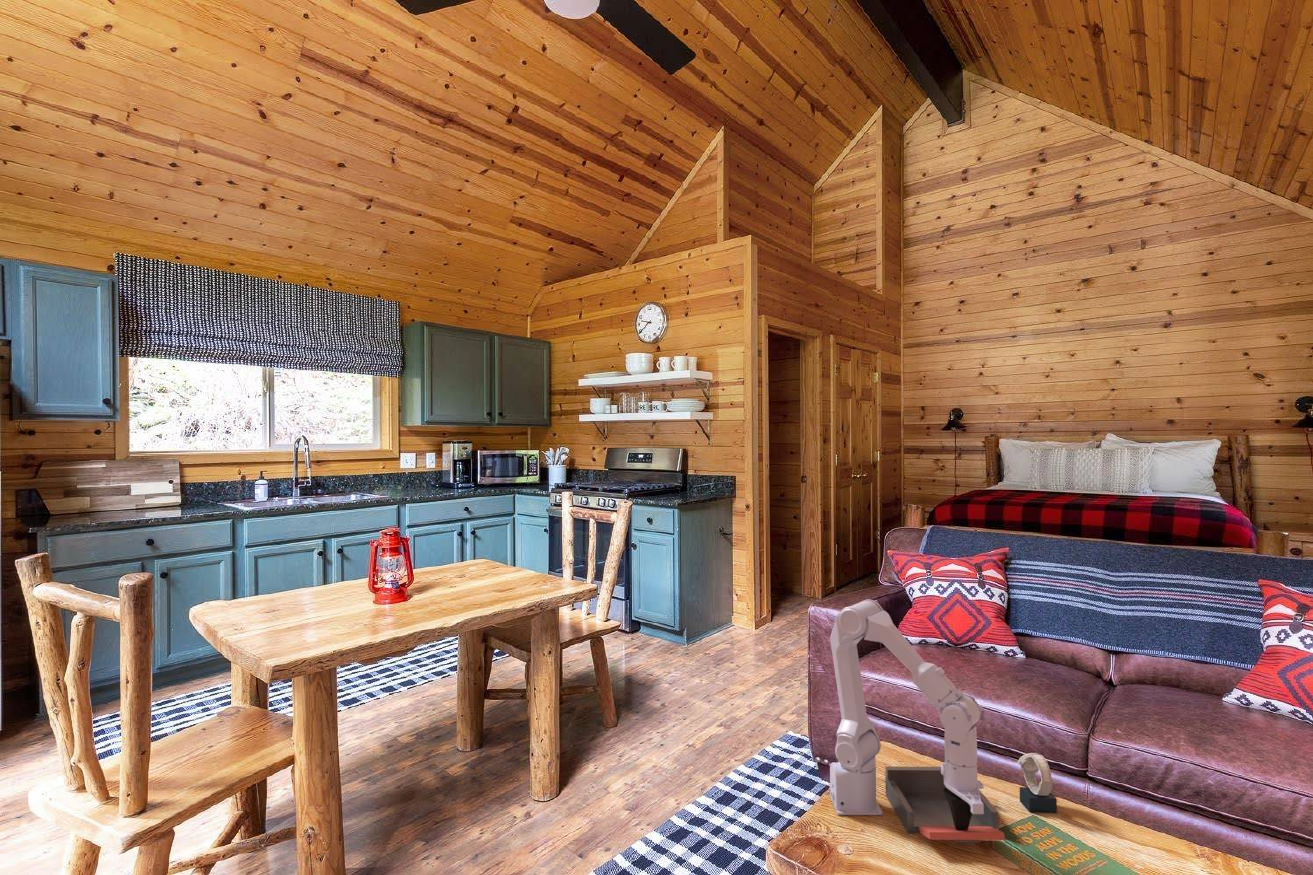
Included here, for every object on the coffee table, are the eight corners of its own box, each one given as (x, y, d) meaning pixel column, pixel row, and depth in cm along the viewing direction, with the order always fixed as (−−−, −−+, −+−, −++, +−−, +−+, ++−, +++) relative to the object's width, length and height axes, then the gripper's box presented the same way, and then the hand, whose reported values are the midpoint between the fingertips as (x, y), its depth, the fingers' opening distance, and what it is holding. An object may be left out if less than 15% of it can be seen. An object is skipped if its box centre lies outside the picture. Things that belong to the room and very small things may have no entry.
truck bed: (907, 833, 130) (907, 801, 130) (885, 795, 144) (885, 766, 144) (998, 834, 129) (998, 802, 130) (967, 796, 144) (967, 766, 144)
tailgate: (920, 835, 129) (930, 842, 123) (918, 825, 129) (929, 832, 124) (991, 836, 128) (1005, 843, 123) (990, 826, 129) (1004, 832, 123)
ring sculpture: (1041, 796, 143) (1040, 747, 143) (1061, 818, 135) (1060, 765, 135) (1014, 796, 143) (1014, 746, 143) (1033, 817, 135) (1032, 764, 135)
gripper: (1000, 779, 118) (1000, 853, 118) (965, 742, 133) (965, 808, 133) (961, 779, 119) (961, 853, 119) (930, 742, 133) (931, 808, 133)
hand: (961, 829), depth 126 cm, fingers closed, pressing on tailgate
